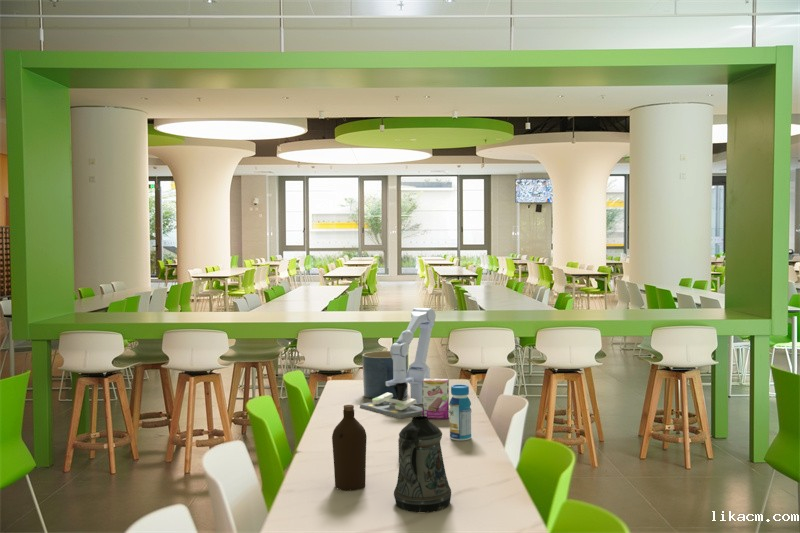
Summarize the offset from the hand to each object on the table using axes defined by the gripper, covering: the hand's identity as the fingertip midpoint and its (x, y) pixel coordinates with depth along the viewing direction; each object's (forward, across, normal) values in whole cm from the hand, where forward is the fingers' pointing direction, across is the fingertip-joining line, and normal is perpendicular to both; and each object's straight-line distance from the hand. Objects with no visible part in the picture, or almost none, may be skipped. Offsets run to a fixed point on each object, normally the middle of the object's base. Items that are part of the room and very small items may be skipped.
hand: (400, 400), depth 350 cm
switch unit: (+4, +4, 0) cm, 5 cm away
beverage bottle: (+4, +14, +56) cm, 58 cm away
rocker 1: (0, +4, -8) cm, 9 cm away
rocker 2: (0, +4, 0) cm, 4 cm away
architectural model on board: (+4, +45, +66) cm, 80 cm away
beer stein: (+4, +73, +104) cm, 127 cm away
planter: (+4, -14, -29) cm, 32 cm away
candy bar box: (+4, 0, +24) cm, 24 cm away
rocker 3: (0, +4, +8) cm, 9 cm away
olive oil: (+4, +79, +76) cm, 109 cm away
